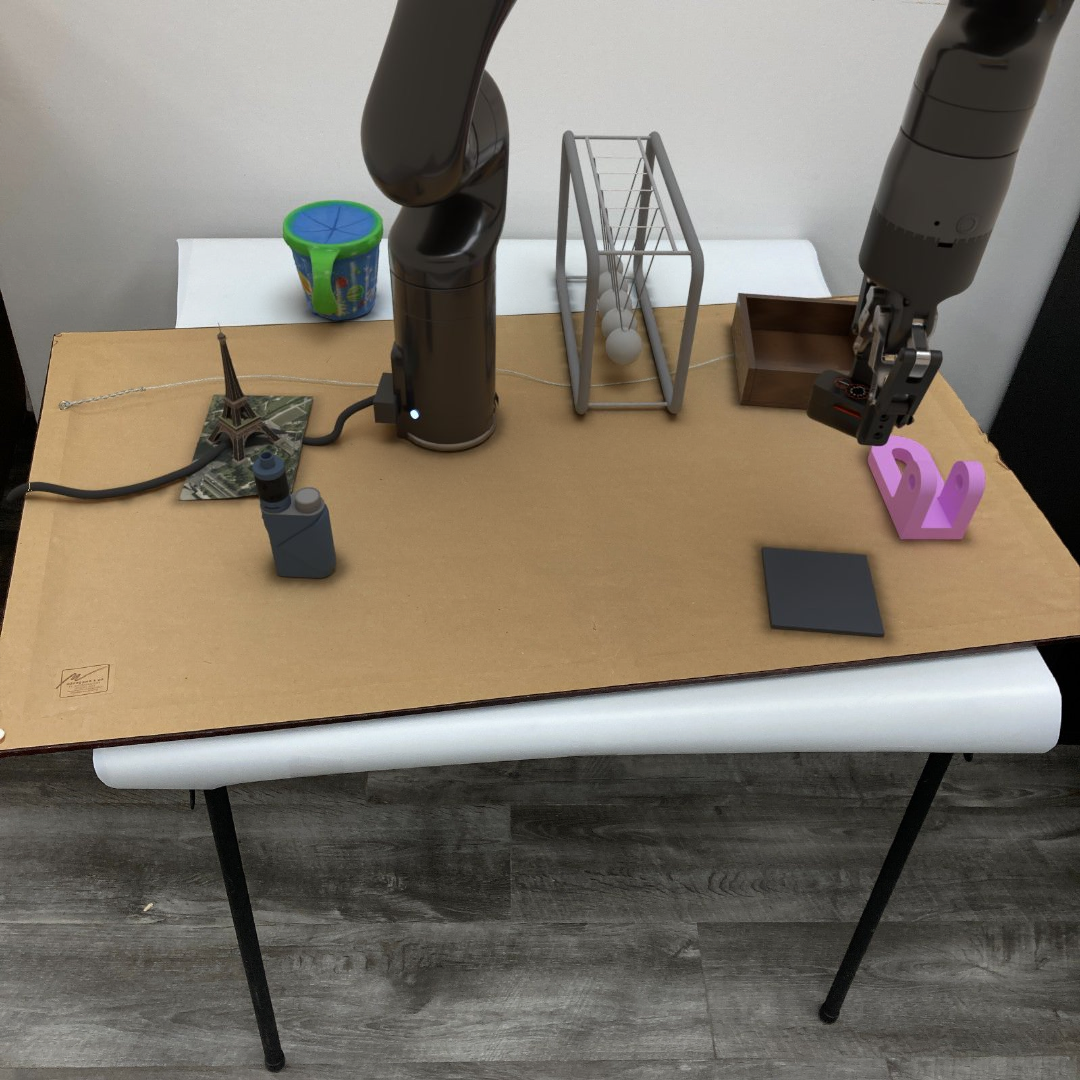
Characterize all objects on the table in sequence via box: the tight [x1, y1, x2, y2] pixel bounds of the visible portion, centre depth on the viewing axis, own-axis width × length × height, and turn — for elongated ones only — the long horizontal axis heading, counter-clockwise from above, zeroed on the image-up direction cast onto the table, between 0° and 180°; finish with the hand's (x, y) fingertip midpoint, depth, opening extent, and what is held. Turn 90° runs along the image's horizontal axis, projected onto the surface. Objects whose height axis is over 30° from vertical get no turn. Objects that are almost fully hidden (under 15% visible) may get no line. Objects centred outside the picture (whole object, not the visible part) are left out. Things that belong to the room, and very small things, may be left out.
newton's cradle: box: [555, 129, 705, 415], centre depth 102 cm, size 30×10×18 cm, turn 3°
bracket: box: [867, 435, 986, 540], centre depth 89 cm, size 13×6×7 cm, turn 2°
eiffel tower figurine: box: [178, 322, 314, 501], centre depth 88 cm, size 15×10×13 cm
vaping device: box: [252, 451, 337, 579], centre depth 77 cm, size 3×5×12 cm, turn 88°
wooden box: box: [730, 292, 887, 410], centre depth 104 cm, size 14×15×4 cm
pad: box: [761, 546, 886, 638], centre depth 82 cm, size 9×9×1 cm
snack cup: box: [282, 199, 384, 322], centre depth 107 cm, size 16×10×10 cm
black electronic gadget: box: [805, 370, 915, 440], centre depth 74 cm, size 5×7×3 cm, turn 53°
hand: (864, 419), depth 74 cm, fingers closed on black electronic gadget, 5 cm apart
